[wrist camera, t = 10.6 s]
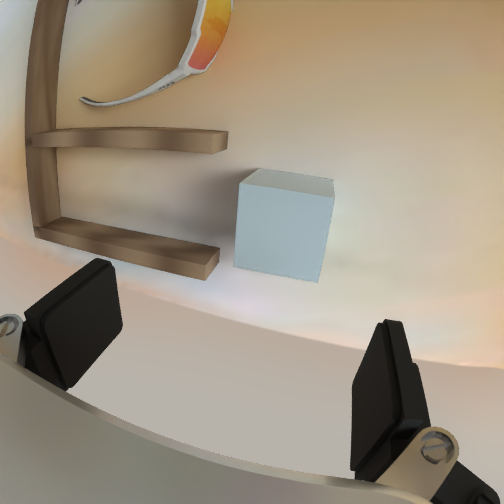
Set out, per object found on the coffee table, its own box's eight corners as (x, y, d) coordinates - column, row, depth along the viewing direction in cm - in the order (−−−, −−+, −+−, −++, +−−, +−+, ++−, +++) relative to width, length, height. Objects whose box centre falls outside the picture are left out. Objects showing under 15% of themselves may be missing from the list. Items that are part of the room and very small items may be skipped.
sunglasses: (255, 79, 18) (220, 71, 14) (101, 118, 24) (57, 126, 20) (233, -75, 13) (200, -104, 9) (93, -9, 19) (53, -15, 14)
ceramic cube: (333, 179, 20) (334, 198, 15) (321, 248, 22) (318, 282, 18) (259, 167, 21) (239, 183, 16) (252, 235, 23) (233, 266, 18)
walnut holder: (254, -86, 12) (244, -106, 9) (218, 262, 24) (204, 280, 22) (71, -41, 15) (51, -47, 12) (55, 226, 27) (35, 237, 25)
